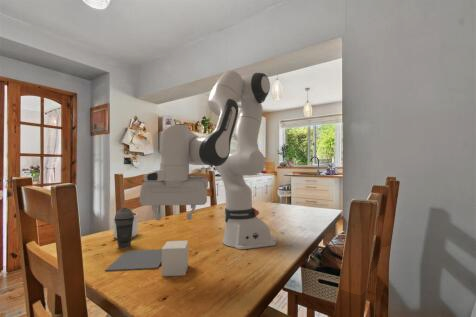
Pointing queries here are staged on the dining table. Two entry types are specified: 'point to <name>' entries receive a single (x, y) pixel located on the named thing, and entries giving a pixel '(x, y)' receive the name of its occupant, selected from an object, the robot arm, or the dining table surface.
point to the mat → (137, 260)
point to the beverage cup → (124, 226)
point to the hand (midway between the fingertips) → (174, 219)
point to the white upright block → (174, 258)
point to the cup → (134, 228)
